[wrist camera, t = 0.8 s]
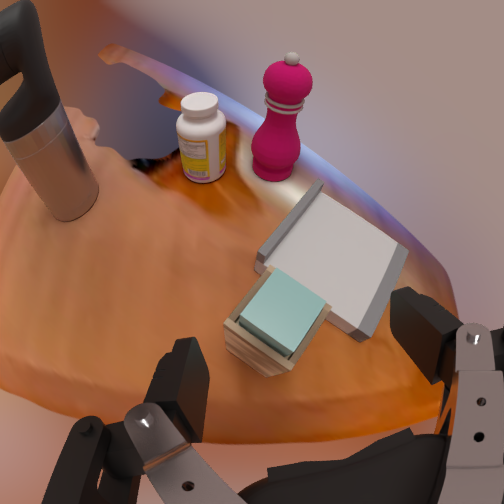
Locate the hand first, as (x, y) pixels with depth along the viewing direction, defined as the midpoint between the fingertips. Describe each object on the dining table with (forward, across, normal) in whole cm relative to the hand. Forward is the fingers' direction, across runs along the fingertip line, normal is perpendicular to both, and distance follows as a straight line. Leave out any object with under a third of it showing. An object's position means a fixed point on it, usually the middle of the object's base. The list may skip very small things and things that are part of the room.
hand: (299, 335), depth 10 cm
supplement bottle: (+35, +6, -8) cm, 37 cm away
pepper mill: (+36, -4, -6) cm, 37 cm away
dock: (+24, -8, +8) cm, 27 cm away
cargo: (+8, +1, +4) cm, 10 cm away
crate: (+17, +3, +12) cm, 21 cm away
